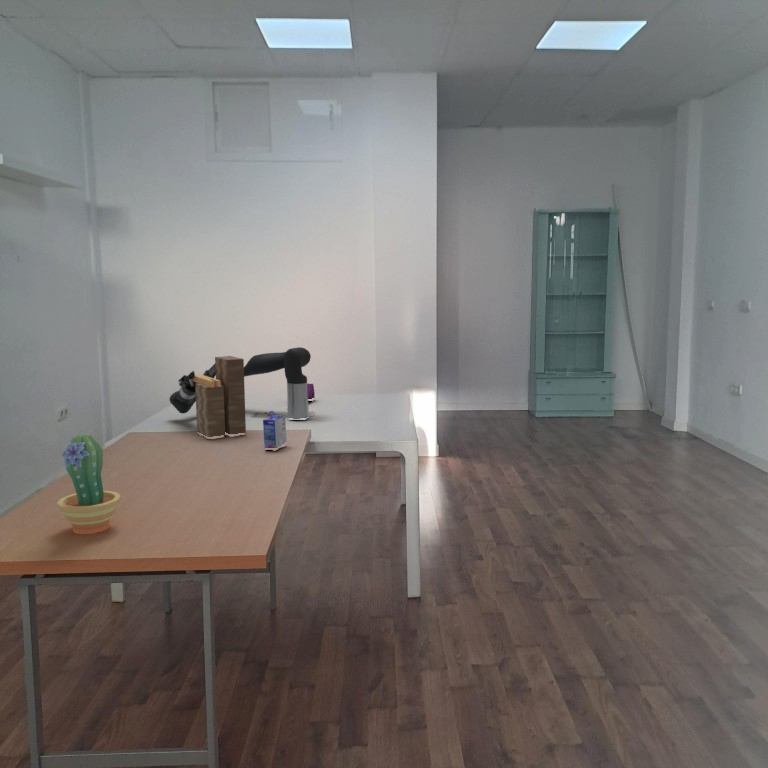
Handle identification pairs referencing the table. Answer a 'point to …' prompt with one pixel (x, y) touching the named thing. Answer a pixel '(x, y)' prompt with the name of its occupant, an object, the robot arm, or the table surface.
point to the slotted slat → (206, 381)
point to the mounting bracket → (310, 391)
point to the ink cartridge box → (274, 430)
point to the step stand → (222, 400)
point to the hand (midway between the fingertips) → (200, 372)
